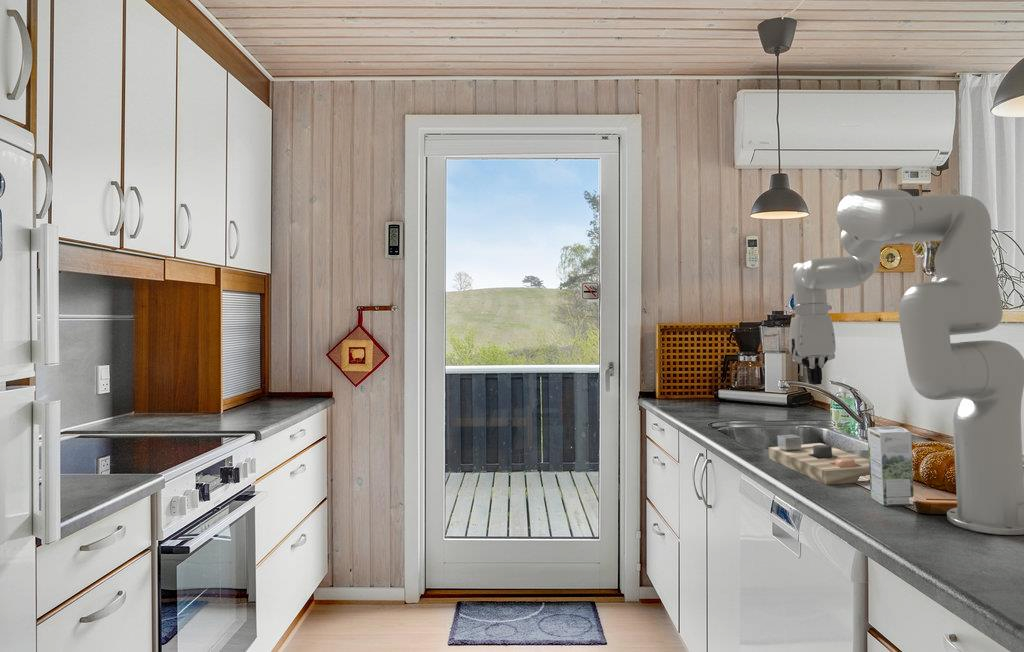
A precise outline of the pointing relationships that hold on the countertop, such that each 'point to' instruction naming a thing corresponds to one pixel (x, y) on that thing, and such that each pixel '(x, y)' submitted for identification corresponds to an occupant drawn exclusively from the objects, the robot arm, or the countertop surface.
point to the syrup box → (890, 465)
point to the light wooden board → (821, 464)
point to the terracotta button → (844, 462)
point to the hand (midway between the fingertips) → (815, 383)
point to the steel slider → (789, 442)
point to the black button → (822, 451)
